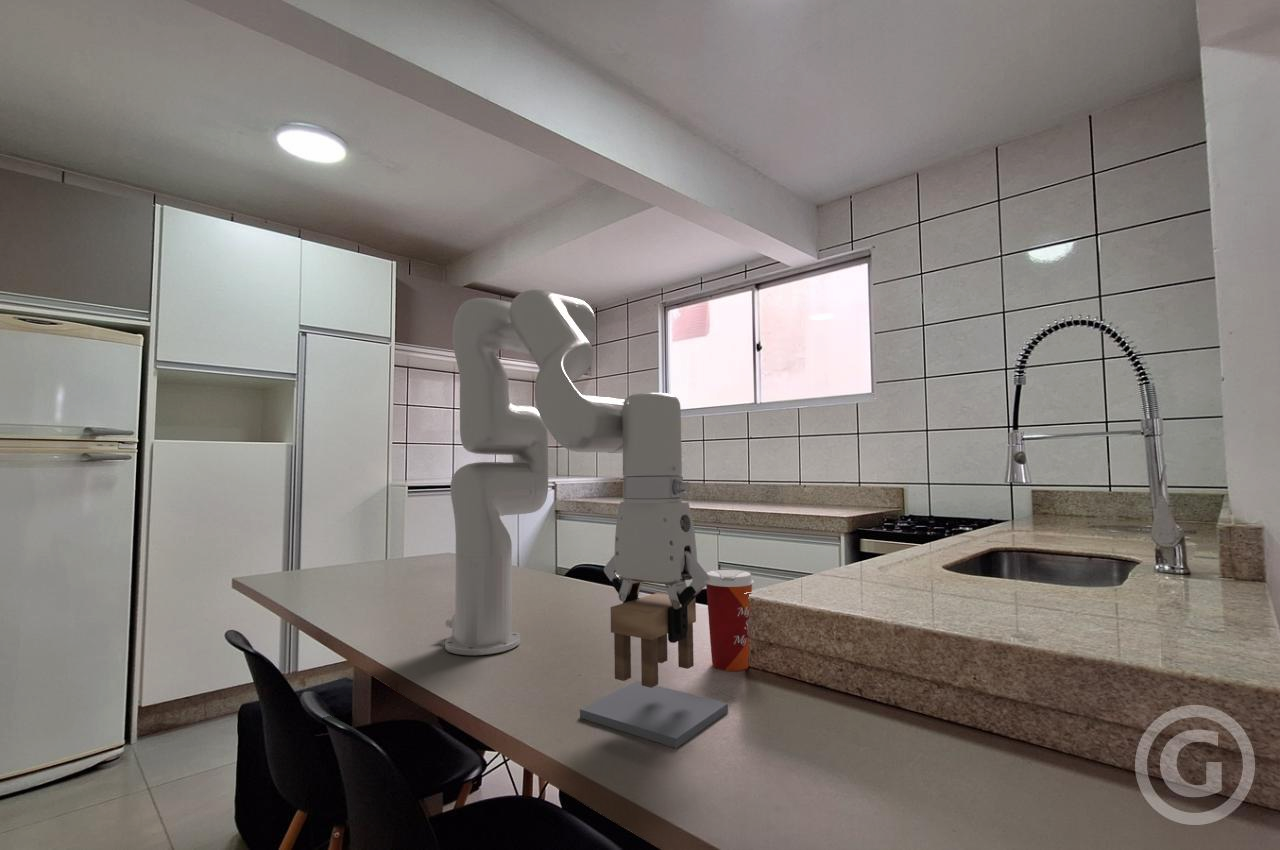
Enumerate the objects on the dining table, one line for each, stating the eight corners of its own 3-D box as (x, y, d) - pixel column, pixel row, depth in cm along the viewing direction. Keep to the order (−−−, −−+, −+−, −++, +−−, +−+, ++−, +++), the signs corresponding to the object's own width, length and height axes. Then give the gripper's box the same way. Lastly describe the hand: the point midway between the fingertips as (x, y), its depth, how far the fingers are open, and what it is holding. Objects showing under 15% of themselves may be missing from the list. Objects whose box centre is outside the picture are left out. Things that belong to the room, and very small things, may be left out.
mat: (579, 717, 74) (579, 709, 74) (637, 688, 83) (637, 680, 83) (676, 748, 65) (676, 738, 65) (728, 711, 75) (727, 703, 75)
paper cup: (755, 675, 88) (753, 578, 89) (703, 672, 90) (701, 576, 91) (756, 658, 96) (754, 569, 97) (707, 656, 97) (706, 568, 98)
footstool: (658, 657, 80) (657, 592, 81) (696, 665, 77) (695, 597, 77) (611, 679, 72) (610, 607, 73) (652, 689, 69) (650, 613, 69)
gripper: (727, 490, 74) (730, 639, 73) (617, 489, 84) (618, 620, 83) (696, 492, 68) (699, 655, 67) (581, 491, 78) (582, 632, 77)
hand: (654, 634), depth 75 cm, fingers closed on footstool, 6 cm apart
